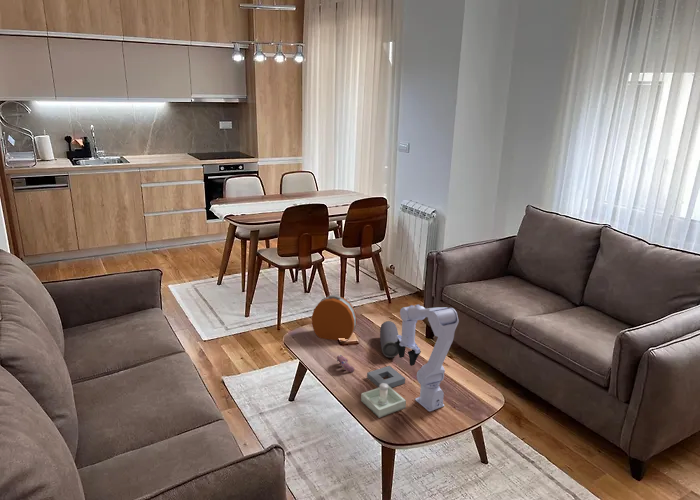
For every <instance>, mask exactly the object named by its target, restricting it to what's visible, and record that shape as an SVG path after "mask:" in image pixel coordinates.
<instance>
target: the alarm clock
mask: <svg viewBox="0 0 700 500" xmlns="http://www.w3.org/2000/svg"><path fill="white" fill-rule="evenodd" d="M357 317H358V316H357V314H356V311H355V308H354V306H353V305H352V303H351V302H350V301H349V300H347V299H346V298H345V297H342V296H339V295H335V294H330V295H327V296H325V297H324V298H322V299H321V300H320V301H319V302H318V303H317V305H316V306H315V308H314V309H313V312H312V315H311V326H312V329H313V331H314V333H315V334H316V335H315V336H317V337H318V338H319V339H324V340H329V341H330V340H331V341H337V340H338V338H345V339H348V340H350V338H351V336H352V335H353V333H354V332H355V330H356V328H357V324H358V321H357Z"/></svg>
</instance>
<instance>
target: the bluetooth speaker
mask: <svg viewBox="0 0 700 500" xmlns="http://www.w3.org/2000/svg"><path fill="white" fill-rule="evenodd" d="M397 335H399V331H398V327H397V326H396V324H395V322H393V321H391V320H386V321H383V323H382V324H381V326H380V329H379V341H380V347H381V352H382V354H383V355H384V356H385V357H387V358H396V357H397V356H399V353H398V349H397V347H396V345H395V342H397V341H398V340H396V336H397Z"/></svg>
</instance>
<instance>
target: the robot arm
mask: <svg viewBox="0 0 700 500" xmlns="http://www.w3.org/2000/svg"><path fill="white" fill-rule="evenodd" d="M399 315H400V319H401V320H402V321H401V322H402V323H401V334H398V335H397V336H396V340H398V341H397V342H395V345H396V347H397V349H398V353H399V354H398V358H400V359H401V358H404V357H405V355H406V348H408V349H410V350H409V351H407V354H408V359H409V366H411V367H412V366H415V365H416V361H417V360H418V357H419V355H421V352H422V351H421V348H420V347H419V346H418V345H417V343H416V341H415V340H416V339H415V338H416V324H417V323H418V321H423V320H425V319H426V318H427V321H428V322H429V325H430V327H431V330H432V332H433V335H434V336H435V337H437V338H436V342H435V344H434V346H433V349H432V351H431V352H430V353H431V354H430V356H429V359H428V361H427V363H425V364H423V365H422V366H421V367H420V369H418V370H417V372H416V379H417V382H418V384H419V385H420V388H419V389H420V391H419V392H420V393H419V396H418V397H416V398H415V399H414V400H415V401H416V402H417V403H418V404H419V405H421V406H422V407H423V408H425V410H427V412H433V411H435V410H437V409H440V408H442V407H445V404H444V396H445V395H444V394H445V393H444V391H443V389H441V386H440V384H441V383H442V381H443V380H444V379H445V372H446V369H445V367H444V366H443V364H444V362H445V361H446V357H447V354H448V353H449V351H450V348H451V345H452V344H453V341H454V340H455V339H454V338H455V332H456V329H457V327H458V325H459V322H460V320H459V317H458V312H457V311H456V309H455V308H453V307H447V306H446V307H429V308H428V307H427V308H426V307H424V306H423V305H420V304H415V305H412V304H411V305H409V306H405V307H404V306H403V307H402V308H400V310H399Z"/></svg>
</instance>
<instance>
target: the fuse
mask: <svg viewBox="0 0 700 500" xmlns="http://www.w3.org/2000/svg"><path fill="white" fill-rule="evenodd" d="M379 388H380V396H379V404H380V405H387V404H388V400H387V394H388V384H386V383H381V384H380V385H379Z"/></svg>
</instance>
